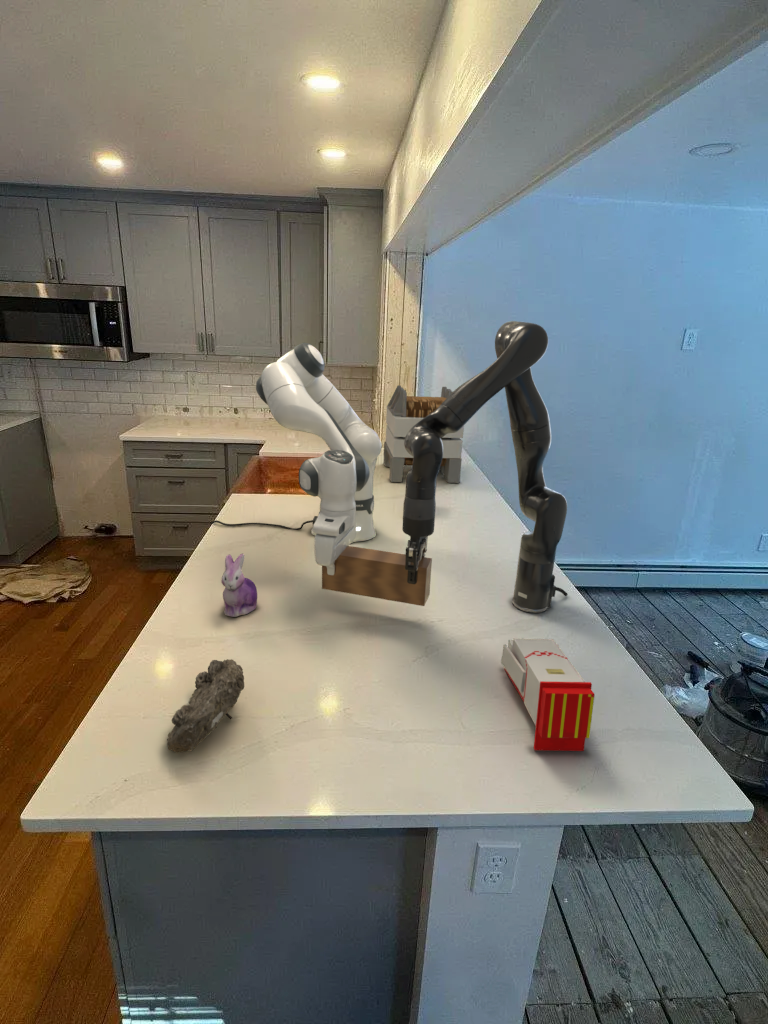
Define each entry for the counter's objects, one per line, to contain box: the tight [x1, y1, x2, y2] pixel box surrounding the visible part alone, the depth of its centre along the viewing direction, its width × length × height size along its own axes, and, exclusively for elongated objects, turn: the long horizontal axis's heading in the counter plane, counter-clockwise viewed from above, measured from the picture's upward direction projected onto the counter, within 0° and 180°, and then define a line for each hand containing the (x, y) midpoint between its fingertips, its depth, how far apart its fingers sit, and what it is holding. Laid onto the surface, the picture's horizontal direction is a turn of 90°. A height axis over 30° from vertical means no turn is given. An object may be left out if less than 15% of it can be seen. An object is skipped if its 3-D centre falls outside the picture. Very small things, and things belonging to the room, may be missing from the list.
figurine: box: [220, 553, 258, 618], centre depth 144 cm, size 9×10×15 cm
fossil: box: [166, 658, 245, 754], centre depth 106 cm, size 22×10×15 cm
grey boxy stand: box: [383, 384, 465, 484], centre depth 268 cm, size 34×33×41 cm
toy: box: [500, 637, 595, 752], centre depth 114 cm, size 12×13×30 cm
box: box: [321, 545, 433, 607], centre depth 142 cm, size 27×6×10 cm, turn 74°
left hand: (336, 567), depth 144 cm, fingers closed on box, 6 cm apart
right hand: (415, 577), depth 139 cm, fingers closed on box, 6 cm apart
